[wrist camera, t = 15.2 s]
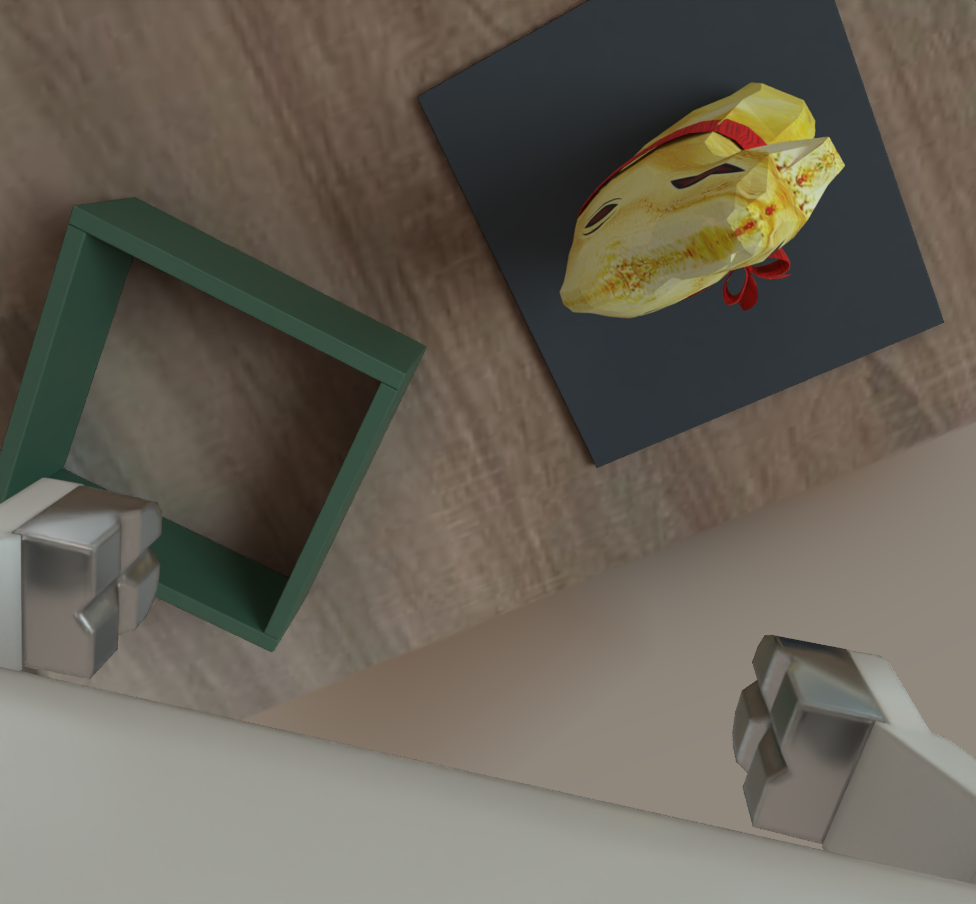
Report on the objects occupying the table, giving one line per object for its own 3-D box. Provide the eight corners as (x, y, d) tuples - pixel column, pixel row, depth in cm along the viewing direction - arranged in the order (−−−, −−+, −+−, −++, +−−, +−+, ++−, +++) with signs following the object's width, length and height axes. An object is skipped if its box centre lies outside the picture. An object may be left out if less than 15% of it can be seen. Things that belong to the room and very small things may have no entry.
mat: (418, 97, 36) (416, 96, 35) (792, -113, 32) (795, -116, 31) (596, 465, 40) (596, 468, 40) (941, 320, 37) (944, 322, 36)
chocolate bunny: (532, 219, 37) (502, 270, 22) (765, 53, 33) (898, -7, 19) (619, 349, 38) (641, 473, 24) (849, 202, 35) (1028, 246, 21)
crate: (134, 196, 38) (72, 204, 34) (426, 346, 39) (406, 374, 35) (45, 474, 44) (-19, 514, 39) (304, 599, 45) (272, 653, 40)
